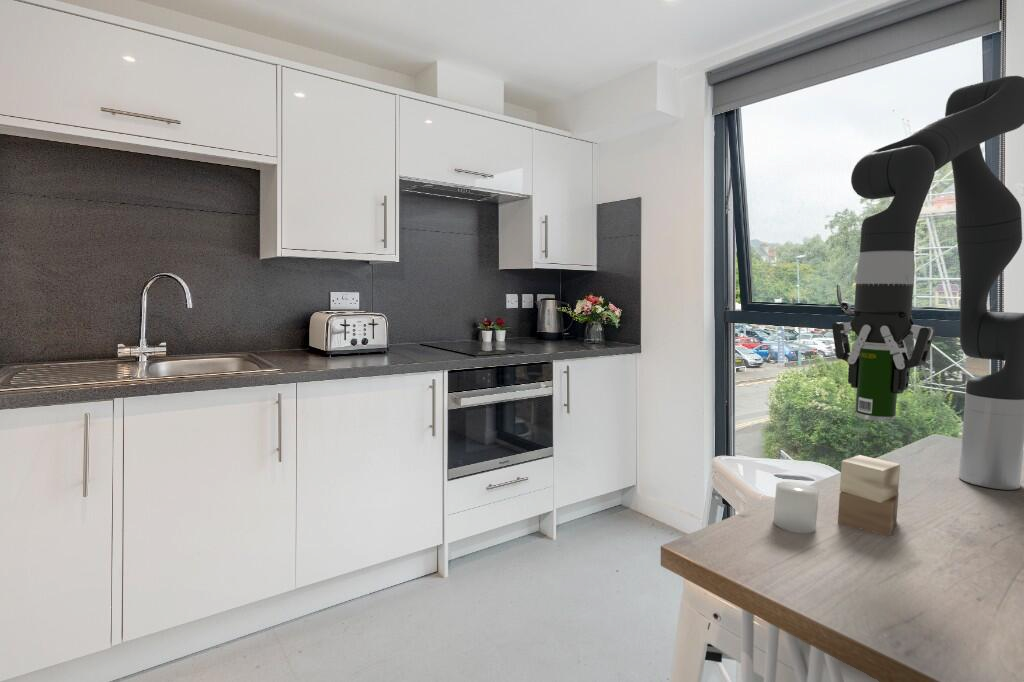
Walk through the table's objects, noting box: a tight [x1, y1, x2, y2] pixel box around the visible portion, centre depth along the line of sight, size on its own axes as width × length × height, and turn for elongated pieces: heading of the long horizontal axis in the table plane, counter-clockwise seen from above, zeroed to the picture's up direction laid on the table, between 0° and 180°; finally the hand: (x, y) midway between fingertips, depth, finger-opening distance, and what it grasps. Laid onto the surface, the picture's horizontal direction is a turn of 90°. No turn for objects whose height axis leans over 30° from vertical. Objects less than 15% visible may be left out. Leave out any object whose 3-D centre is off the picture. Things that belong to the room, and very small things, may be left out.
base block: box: [837, 491, 900, 537], centre depth 91 cm, size 7×7×5 cm
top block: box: [839, 454, 901, 503], centre depth 91 cm, size 6×6×5 cm
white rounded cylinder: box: [773, 481, 820, 534], centre depth 90 cm, size 6×6×6 cm
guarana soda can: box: [854, 342, 899, 422], centre depth 90 cm, size 5×5×12 cm
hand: (876, 389), depth 90 cm, fingers closed on guarana soda can, 5 cm apart
